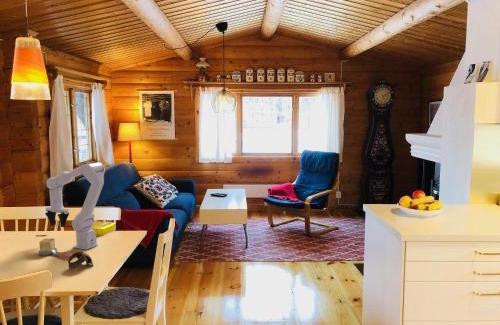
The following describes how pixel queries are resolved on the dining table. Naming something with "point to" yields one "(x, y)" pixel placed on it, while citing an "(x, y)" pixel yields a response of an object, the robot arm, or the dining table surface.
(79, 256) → the brown arched piece
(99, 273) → the dining table surface
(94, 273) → the dining table surface
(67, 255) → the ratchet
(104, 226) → the element tile
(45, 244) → the wooden cube
